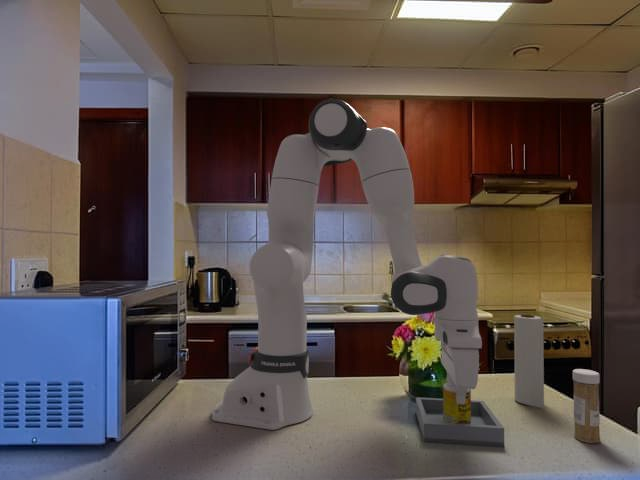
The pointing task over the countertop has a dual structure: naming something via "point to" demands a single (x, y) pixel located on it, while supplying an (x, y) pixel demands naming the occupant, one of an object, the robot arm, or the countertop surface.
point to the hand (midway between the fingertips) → (456, 397)
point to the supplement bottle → (455, 405)
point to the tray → (459, 425)
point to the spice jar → (586, 405)
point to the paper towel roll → (529, 360)
